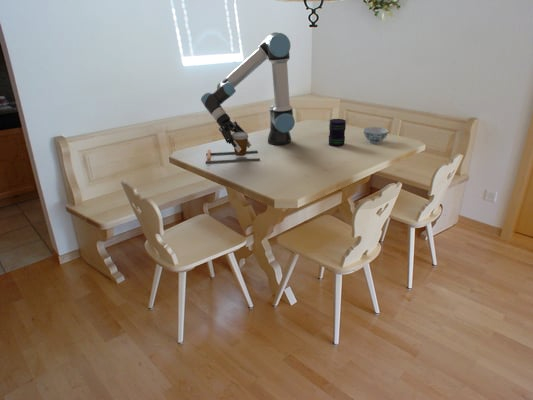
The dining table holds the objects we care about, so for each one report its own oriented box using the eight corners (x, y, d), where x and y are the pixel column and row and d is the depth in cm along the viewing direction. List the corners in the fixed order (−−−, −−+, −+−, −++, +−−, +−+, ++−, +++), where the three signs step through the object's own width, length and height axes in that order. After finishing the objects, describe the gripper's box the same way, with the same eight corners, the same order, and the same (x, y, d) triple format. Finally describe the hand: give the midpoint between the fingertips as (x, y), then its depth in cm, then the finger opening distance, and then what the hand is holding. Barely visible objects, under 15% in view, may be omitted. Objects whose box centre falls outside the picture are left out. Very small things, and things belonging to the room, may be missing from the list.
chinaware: (381, 147, 238) (382, 134, 235) (358, 143, 247) (359, 130, 243) (390, 141, 249) (392, 129, 246) (368, 137, 257) (369, 125, 254)
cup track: (257, 152, 233) (257, 147, 232) (259, 160, 219) (259, 155, 218) (206, 154, 230) (206, 149, 229) (205, 163, 217) (205, 158, 215)
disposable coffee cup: (246, 157, 220) (246, 136, 215) (230, 156, 221) (229, 135, 216) (250, 152, 228) (250, 132, 223) (234, 151, 230) (233, 131, 225)
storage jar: (327, 146, 242) (328, 122, 235) (329, 141, 250) (330, 118, 244) (343, 147, 239) (345, 123, 233) (345, 142, 248) (347, 119, 241)
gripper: (229, 117, 233) (252, 147, 232) (205, 125, 217) (229, 157, 216) (236, 109, 228) (259, 140, 227) (212, 116, 212) (236, 149, 211)
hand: (245, 148), depth 221 cm, fingers closed on disposable coffee cup, 9 cm apart
